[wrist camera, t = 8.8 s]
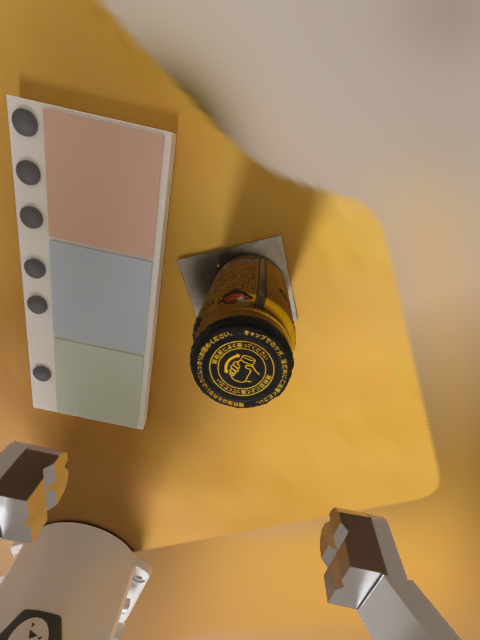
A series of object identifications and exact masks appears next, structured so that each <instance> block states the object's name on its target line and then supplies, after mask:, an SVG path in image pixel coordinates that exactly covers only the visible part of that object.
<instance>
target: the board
mask: <svg viewBox="0 0 480 640" xmlns="http://www.w3.org/2000/svg"><path fill="white" fill-rule="evenodd" d="M6 98H7V109H8V121H9V132H10V144H11V155H12V167H13V178H14V190H15V201H16V213H17V224H18V236H19V247H20V259H21V270H22V282H23V293H24V305H25V316H26V328H27V339H28V351H29V362H30V374H31V385H32V397H33V407H34V408H39V409H44V410H49V411H53V412H58V413H63V414H68V415H73V416H78V417H83V418H87V419H92V420H97V421H102V422H107V423H112V424H117V425H121V426H126V427H131V428H136V429H141V430H143V428H144V426H145V423H146V421H147V411H148V402H149V393H150V383H151V374H152V364H153V355H154V345H155V336H156V327H157V317H158V308H159V298H160V289H161V279H162V270H163V260H164V251H165V242H166V232H167V223H168V213H169V204H170V194H171V185H172V175H173V166H174V157H175V147H176V138H177V134H175V133H173V132H169V131H164V130H160V129H156V128H151V127H147V126H143V125H138V124H134V123H129V122H125V121H121V120H116V119H112V118H108V117H103V116H99V115H94V114H90V113H86V112H81V111H77V110H73V109H68V108H64V107H59V106H55V105H51V104H46V103H42V102H38V101H33V100H29V99H25V98H20V97H16V96H11V95H7V94H6Z"/></svg>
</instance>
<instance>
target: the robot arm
mask: <svg viewBox="0 0 480 640" xmlns="http://www.w3.org/2000/svg"><path fill="white" fill-rule="evenodd" d="M67 461H68V456H67V453H66V452H62V451H57V450H53V449H48V448H44V447H40V446H35V445H31V444H27V443H22V442H17V441H14V442H13V443H11V444H9V445H8V446H7V447H6V448H5V449H4V450H3V451H2V452H1V453H0V538H1V539H7V540H13V541H14V543H13V544H12V546H11V552H12V554H13V556H14V558H15V559H14V561H13V563H12V564H11V566H10V568H9V569H8V571H7V573H6V575H5V576H4V578H3V580H2V582H1V583H0V640H121V639H122V636H123V633H124V629H125V625H126V624H125V623H122V622H123V621H125V620H126V619H127V617H128V615H129V613H130V612H131V610H132V608H133V606H134V604H135V602H136V600H137V599H138V597H139V595H140V593H141V591H142V589H143V588H144V586H145V584H146V582H147V580H148V578H149V576H150V574H151V571H152V567H151V565H149V564H148V563H147V562H146V561H144V560H142V559H141V558H138V557H137V556H136V555H135V554H134V553H133V552H132V551H131V550H130V549H129V547H128V546H127V545H126V544H125V543H123V542H122V541H121V540H120V539H118V538H117V537H115V536H114V535H112V534H110V533H108V532H106V531H104V530H102V529H99V528H96V527H93V526H90V525H86V524H81V523H73V522H59V523H52V524H49V525H46V526H44V524H45V523H46V521H47V510H49V509H51V508H52V507H54V506H55V505H57V503H58V502H59V500H60V498H61V497H62V495H63V493H64V490H65V488H66V485H67V482H68V470H67V469H66V468H65V464H66V463H67ZM329 515H330V521H329V522H327V523H325V524H324V526H323V528H322V531H321V537H320V551H321V558H322V560H323V561H324V563H325V564H326V566H327V567H328V568H327V570H326V572H325V574H324V580H325V587H326V594H327V600H328V603H331V604H335V605H340V606H344V607H348V608H352V609H357V610H358V611H357V612H358V614H359V616H360V618H361V619H362V621H363V623H364V625H365V626H366V628H367V630H368V632H369V634H370V635H371V637H372V639H373V640H461V639H460V637H459V636H458V635H457V634H456V633H455V631H454V630H453V629H452V628H451V627H450V625H449V624H448V623H447V622H446V620H445V619H444V618H443V617H442V616H441V614H440V613H439V612H438V611H437V610H436V608H435V607H434V606H433V605H432V603H431V602H430V601H429V600H428V599H427V597H426V596H425V595H424V594H423V593H422V591H421V590H420V589H419V588H418V587H417V585H416V584H415V583H414V582H413V581H412V580H408V579H407V576H406V574H405V571H404V568H403V565H402V562H401V559H400V557H399V553H398V550H397V548H396V545H395V542H394V539H393V536H392V533H391V531H390V528H389V525H388V522H387V521H386V519H385V518H384V517H381V516H375V515H370V514H366V513H363V512H357V511H352V510H347V509H342V508H336V507H335V508H333V509H332V510H331V512H330V514H329ZM1 539H0V540H1Z"/></svg>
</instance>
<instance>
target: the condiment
mask: <svg viewBox="0 0 480 640" xmlns="http://www.w3.org/2000/svg"><path fill="white" fill-rule="evenodd" d="M177 262H178V265H179V268H180V270H181V273H182V276H183V279H184V282H185V285H186V288H187V290H188V293H189V296H190V300H191V303H192V305H193V308H194V312H195V315H196V321H195V324H194V329H193V342H194V344H193V345H192V348H191V354H190V365H191V371H192V374H193V376H194V380H195V381H196V383H197V385H198V386H199V387H200V389H201V390H202V391H203V393H205V394H206V395H207V396H209V397H210V398H211V399H213V400H214V401H216V402H218V403H221V404H224V405H228V406H232V407H236V408H250V407H255V406H260V405H263V404H266V403H268V402H269V401H270V400H272V399H274V398H275V397H277V396H279V395H280V394H281V393H282V392H283V391H284V389H285V388H286V386H287V384H288V382H289V379H290V377H291V374H292V369H293V367H294V360H293V352H294V350H295V344H296V342H295V341H296V335H295V326H294V321H296V320H297V314H296V309H295V304H294V299H293V294H292V288H291V283H290V278H289V273H288V267H287V262H286V257H285V252H284V246H283V241H282V236H281V235H280V236H276V237H272V238H267V239H263V240H258V241H254V242H250V243H246V244H241V245H238V246H233V247H229V248H225V249H221V250H217V251H213V252H208V253H204V254H199V255H196V256H192V257H188V258H184V259H179V260H177ZM218 264H221V265H220V267H217V265H218Z"/></svg>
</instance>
